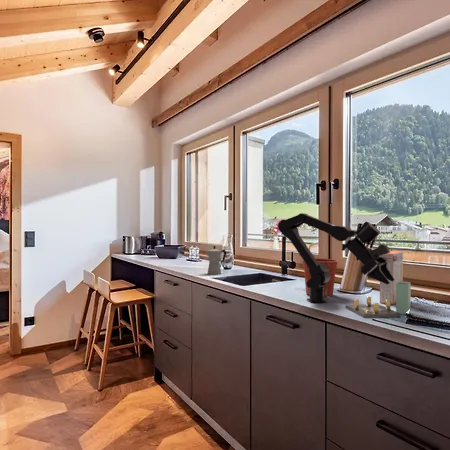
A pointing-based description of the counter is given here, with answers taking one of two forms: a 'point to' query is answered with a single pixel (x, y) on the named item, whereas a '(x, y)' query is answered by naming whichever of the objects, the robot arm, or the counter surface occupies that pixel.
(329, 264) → the flower pot
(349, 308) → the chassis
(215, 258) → the coffeepot
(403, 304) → the block
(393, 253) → the cracker box
